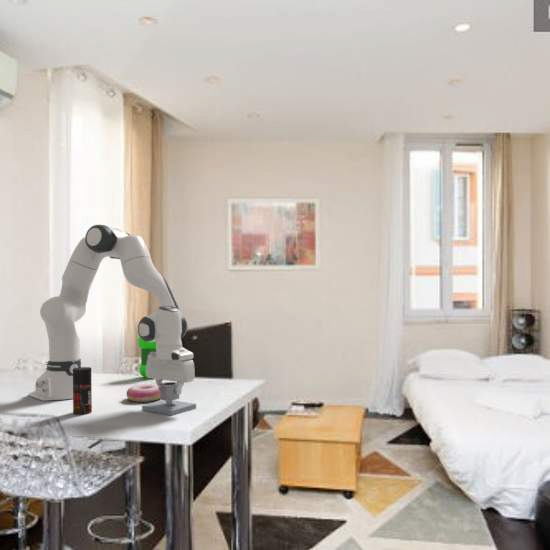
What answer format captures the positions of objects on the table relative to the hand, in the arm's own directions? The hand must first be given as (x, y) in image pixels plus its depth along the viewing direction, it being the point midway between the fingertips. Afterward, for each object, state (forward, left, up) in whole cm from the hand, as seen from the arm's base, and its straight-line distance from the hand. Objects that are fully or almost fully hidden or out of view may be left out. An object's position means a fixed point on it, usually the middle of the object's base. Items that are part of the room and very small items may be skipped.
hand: (169, 392), depth 190 cm
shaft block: (0, 0, -6) cm, 6 cm away
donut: (-19, +6, -6) cm, 21 cm away
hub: (0, 0, -2) cm, 2 cm away
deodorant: (-22, -19, -6) cm, 30 cm away
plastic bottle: (-51, +39, -6) cm, 65 cm away
